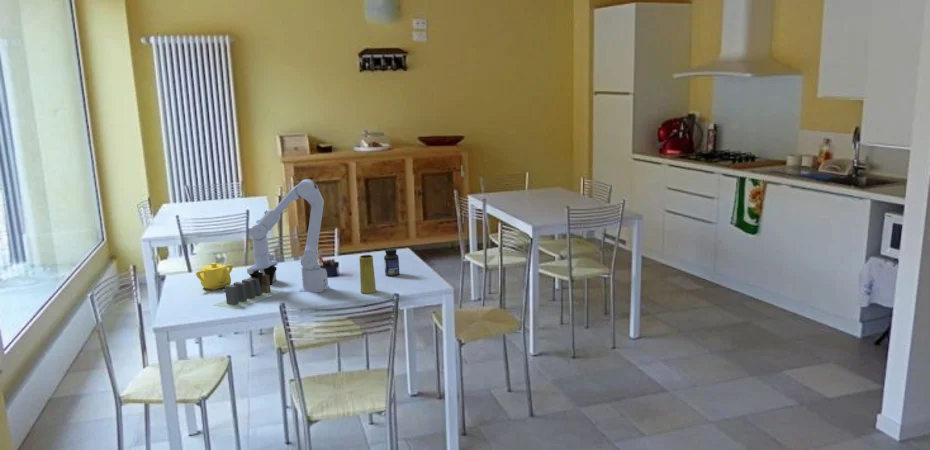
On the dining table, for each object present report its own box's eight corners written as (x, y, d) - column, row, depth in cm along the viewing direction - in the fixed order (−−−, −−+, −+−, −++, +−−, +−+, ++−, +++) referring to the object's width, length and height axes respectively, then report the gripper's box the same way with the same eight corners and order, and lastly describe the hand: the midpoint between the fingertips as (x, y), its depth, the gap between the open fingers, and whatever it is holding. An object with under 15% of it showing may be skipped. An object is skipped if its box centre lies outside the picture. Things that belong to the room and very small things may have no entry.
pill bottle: (402, 273, 303) (401, 248, 301) (393, 277, 298) (392, 251, 296) (391, 272, 307) (389, 247, 304) (382, 275, 301) (380, 250, 299)
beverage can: (272, 284, 294) (269, 256, 292) (258, 284, 296) (255, 256, 293) (279, 280, 301) (276, 252, 298) (265, 279, 302) (262, 252, 300)
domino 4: (254, 292, 281) (250, 276, 278) (262, 293, 279) (258, 277, 276) (251, 294, 279) (246, 278, 277) (259, 295, 277) (255, 280, 275)
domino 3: (246, 296, 277) (245, 279, 276) (255, 297, 275) (253, 280, 274) (243, 297, 276) (241, 280, 275) (251, 298, 274) (249, 281, 272)
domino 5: (262, 290, 285) (261, 273, 283) (270, 291, 282) (269, 274, 281) (259, 291, 283) (257, 274, 282) (267, 293, 281) (265, 276, 279)
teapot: (239, 282, 300) (236, 258, 298) (228, 291, 287) (226, 266, 285) (207, 283, 300) (204, 259, 298) (195, 292, 287) (192, 267, 285)
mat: (261, 288, 289) (261, 287, 289) (283, 291, 283) (283, 290, 283) (213, 305, 268) (213, 305, 268) (236, 309, 262) (235, 308, 262)
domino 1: (230, 302, 270) (228, 284, 269) (238, 303, 268) (236, 286, 267) (226, 303, 269) (224, 286, 267) (235, 305, 267) (233, 287, 265)
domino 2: (238, 299, 274) (236, 281, 272) (247, 300, 272) (245, 283, 270) (235, 300, 272) (233, 283, 271) (243, 302, 270) (241, 284, 269)
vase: (363, 294, 275) (361, 259, 272) (358, 291, 280) (356, 255, 277) (378, 292, 278) (376, 256, 275) (373, 288, 283) (370, 253, 280)
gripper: (267, 248, 288) (270, 281, 290) (240, 257, 275) (243, 290, 278) (280, 250, 284) (283, 283, 287) (253, 258, 272) (256, 292, 275)
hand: (264, 286), depth 282 cm, fingers open, 5 cm apart
